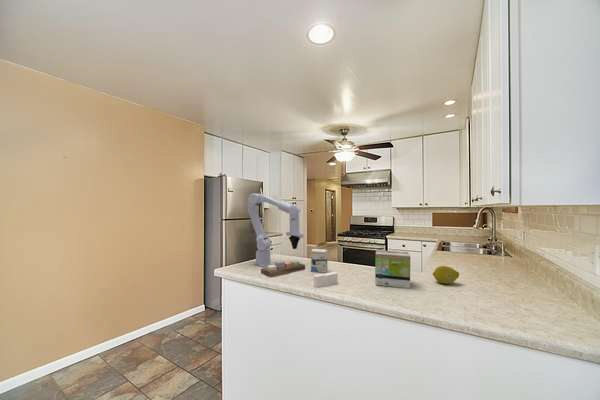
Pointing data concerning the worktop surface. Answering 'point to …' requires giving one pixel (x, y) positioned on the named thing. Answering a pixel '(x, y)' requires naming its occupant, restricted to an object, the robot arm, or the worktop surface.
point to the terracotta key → (288, 264)
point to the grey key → (280, 264)
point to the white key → (271, 267)
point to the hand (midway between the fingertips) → (294, 248)
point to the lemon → (445, 274)
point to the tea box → (392, 268)
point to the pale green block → (295, 262)
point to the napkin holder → (325, 279)
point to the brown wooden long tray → (282, 270)
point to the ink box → (319, 260)
